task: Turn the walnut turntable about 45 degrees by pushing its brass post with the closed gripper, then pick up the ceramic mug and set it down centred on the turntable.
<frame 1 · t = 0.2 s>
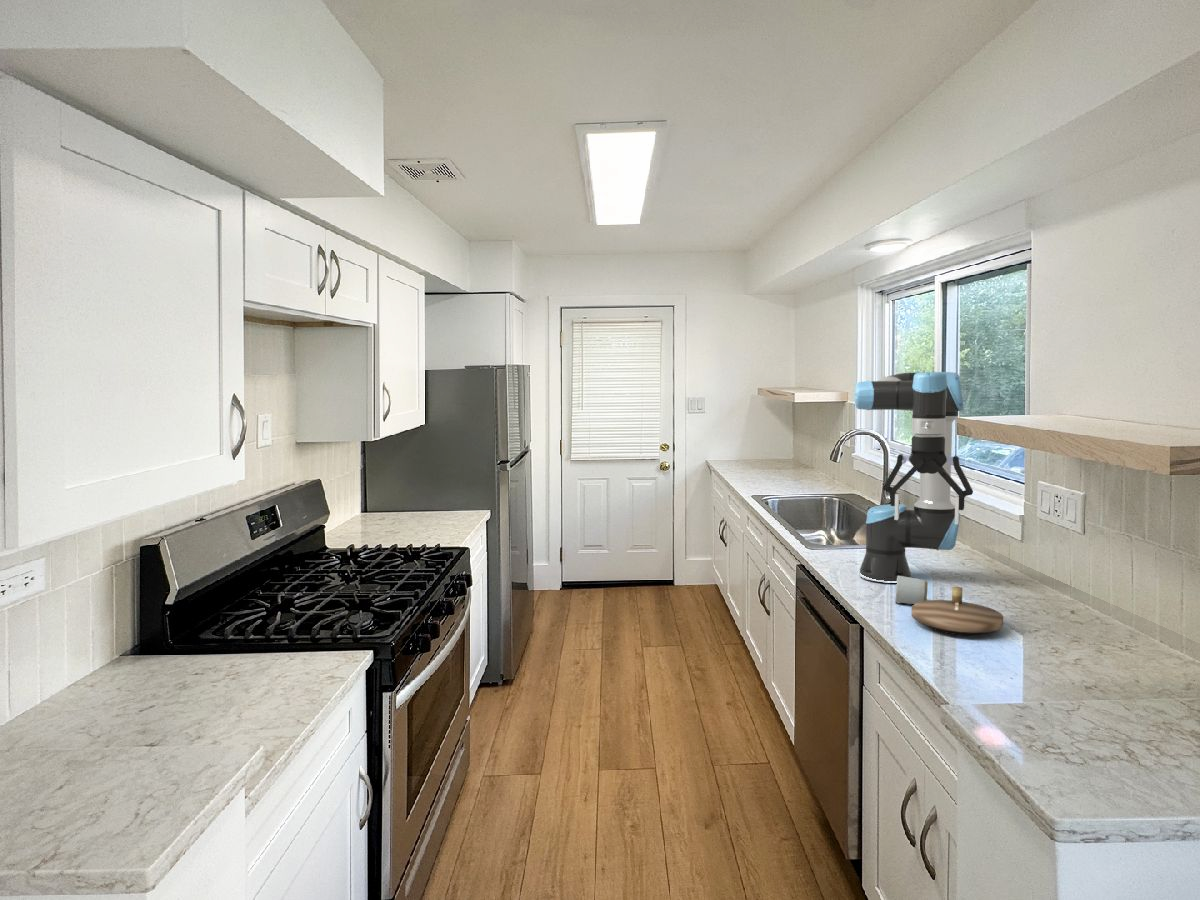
hand: (926, 521, 183), 28 cm above the worktop, tool pointing down, fingers open, 13 cm apart
ceramic mug: (909, 603, 209), on the worktop
turntable: (956, 607, 188), point 5 cm above the worktop, hinge at 0.0°
turntable base: (955, 625, 188), on the worktop
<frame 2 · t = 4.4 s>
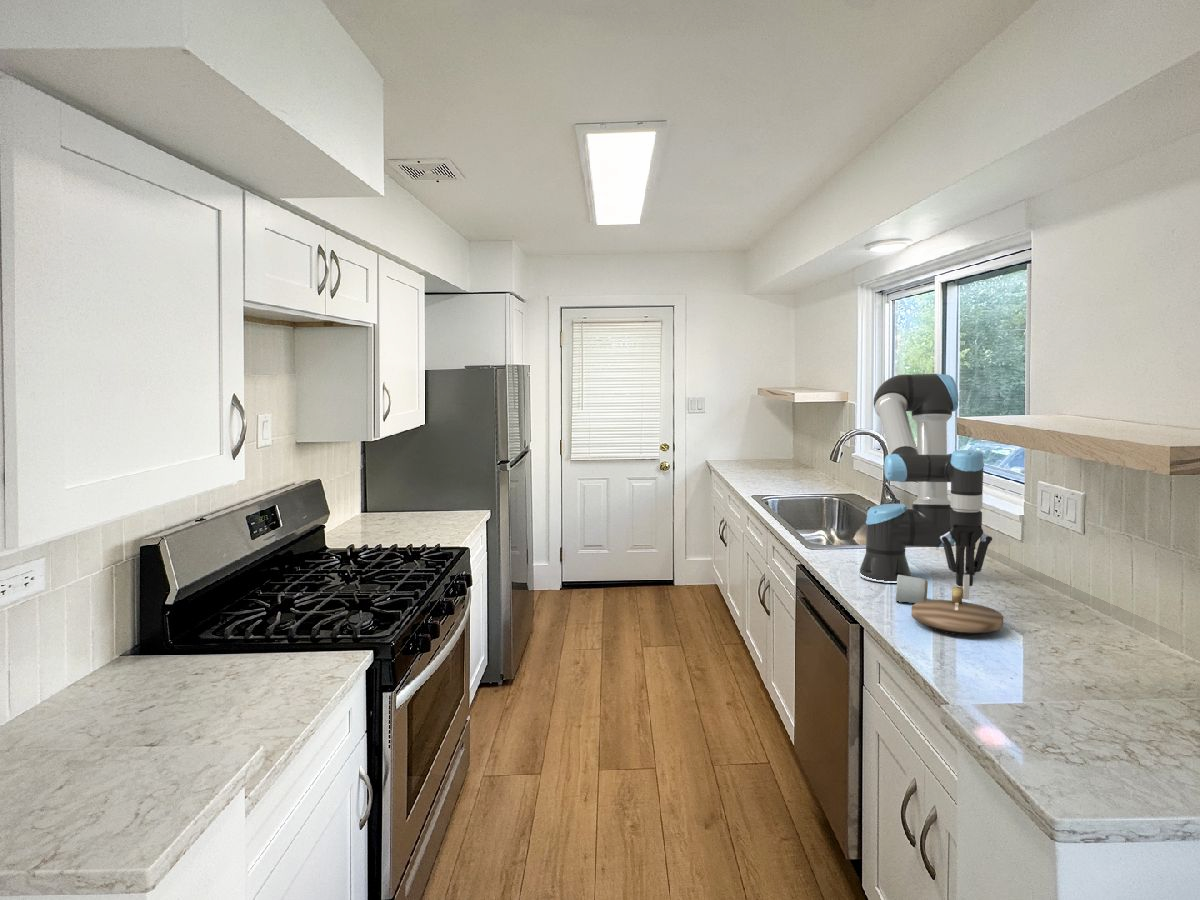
hand: (964, 597, 196), 5 cm above the worktop, tool pointing down, fingers closed
ceramic mug: (910, 602, 210), on the worktop
turntable: (956, 607, 188), point 5 cm above the worktop, hinge at 0.1°, touching gripper
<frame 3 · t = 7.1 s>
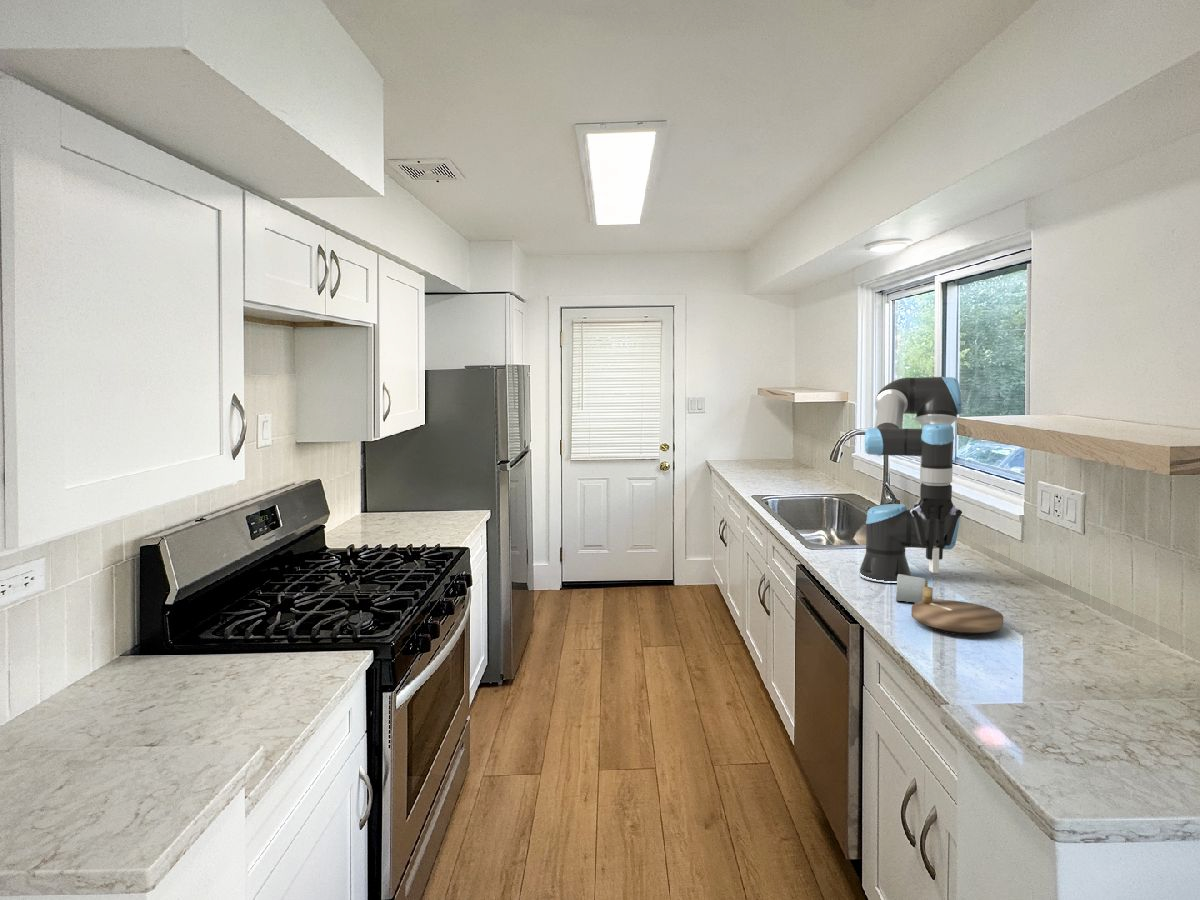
hand: (933, 571, 196), 12 cm above the worktop, tool pointing down, fingers closed
turntable: (956, 607, 188), point 5 cm above the worktop, hinge at 51.1°
everything else where it was.
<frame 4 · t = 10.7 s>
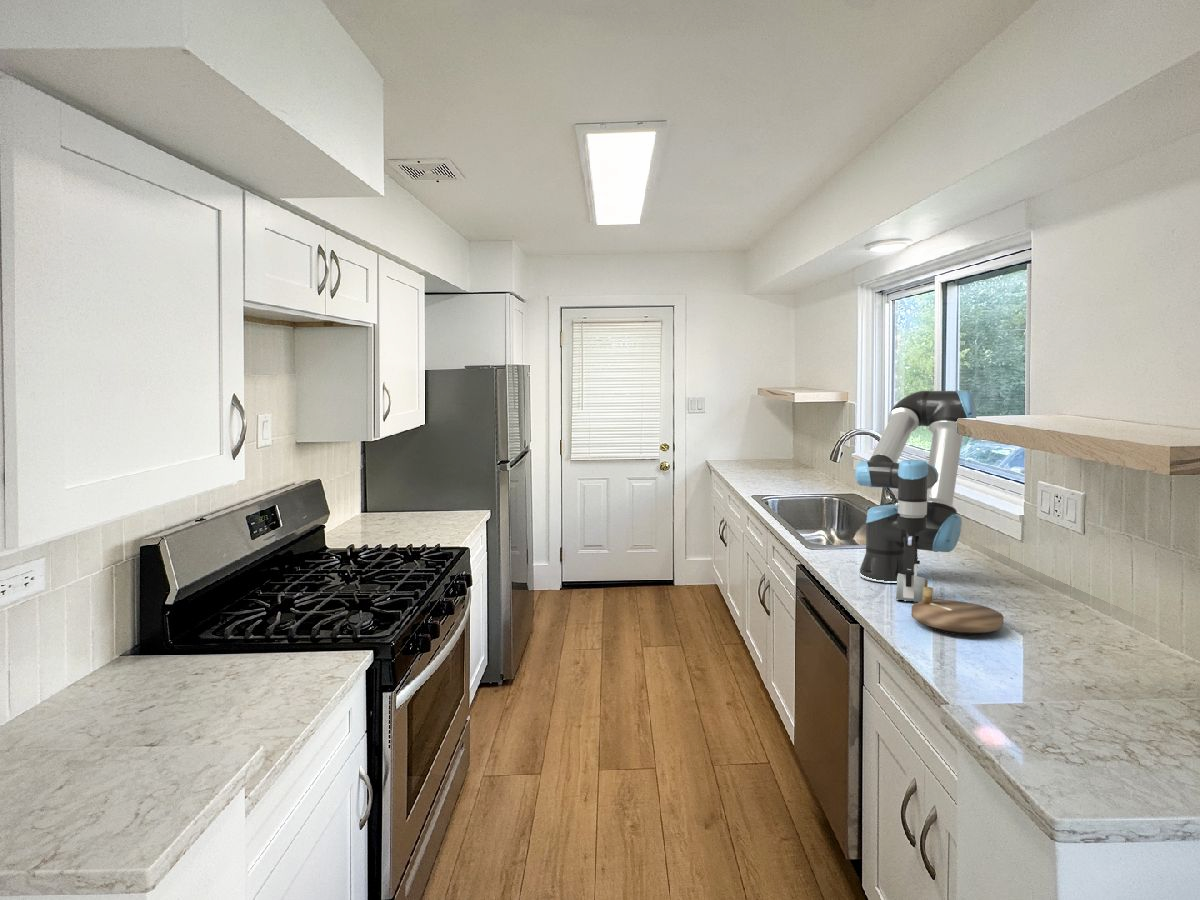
hand: (910, 592, 209), 3 cm above the worktop, tool pointing down, fingers open, 11 cm apart
ceramic mug: (910, 600, 212), on the worktop, touching gripper
everything else where it was.
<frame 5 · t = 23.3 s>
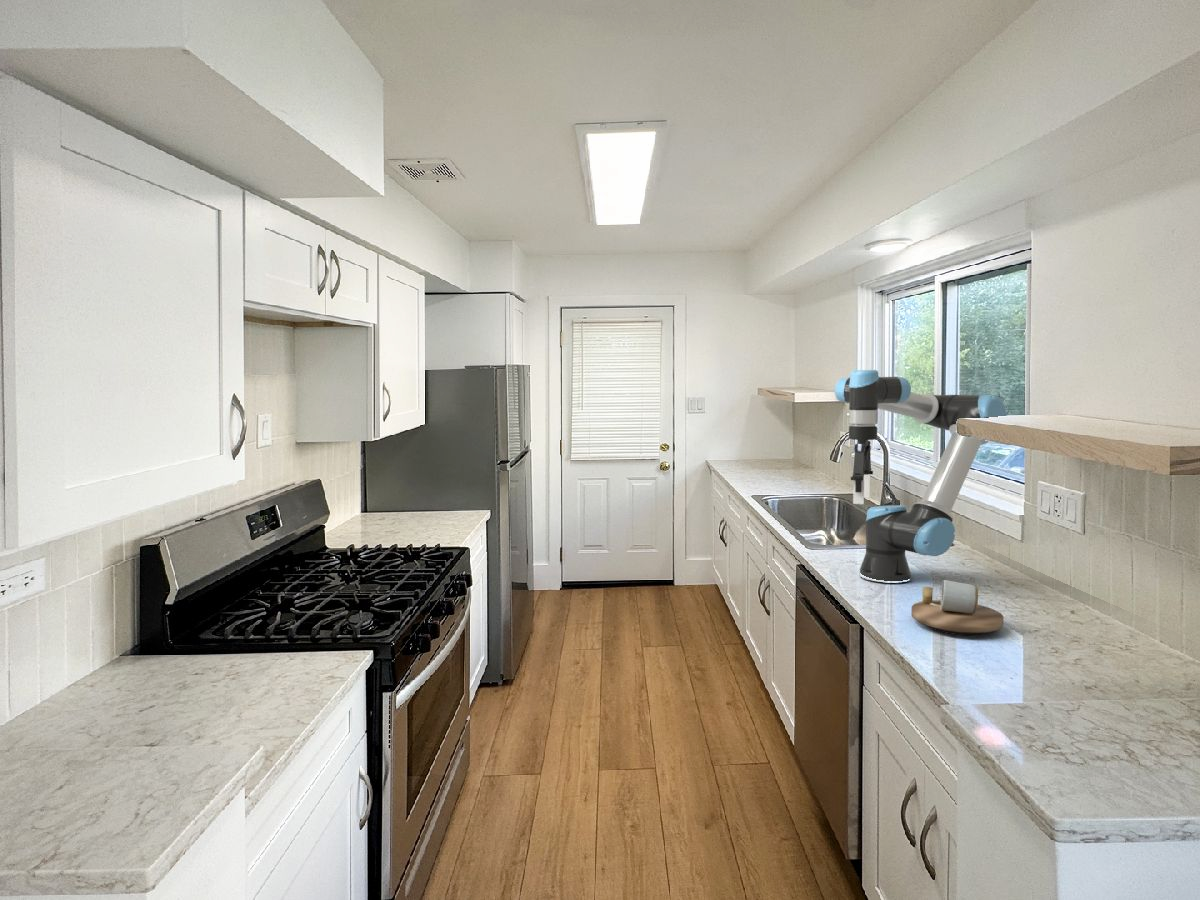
hand: (861, 500, 210), 29 cm above the worktop, tool pointing down, fingers open, 13 cm apart
ceramic mug: (956, 610, 189), point 4 cm above the worktop, touching turntable
turntable: (956, 607, 188), point 5 cm above the worktop, hinge at 51.1°, touching ceramic mug
at the end: turntable at +51° (first picture: +0°); ceramic mug 1.4 cm from the turntable (horizontally); ceramic mug tilted 2° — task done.
